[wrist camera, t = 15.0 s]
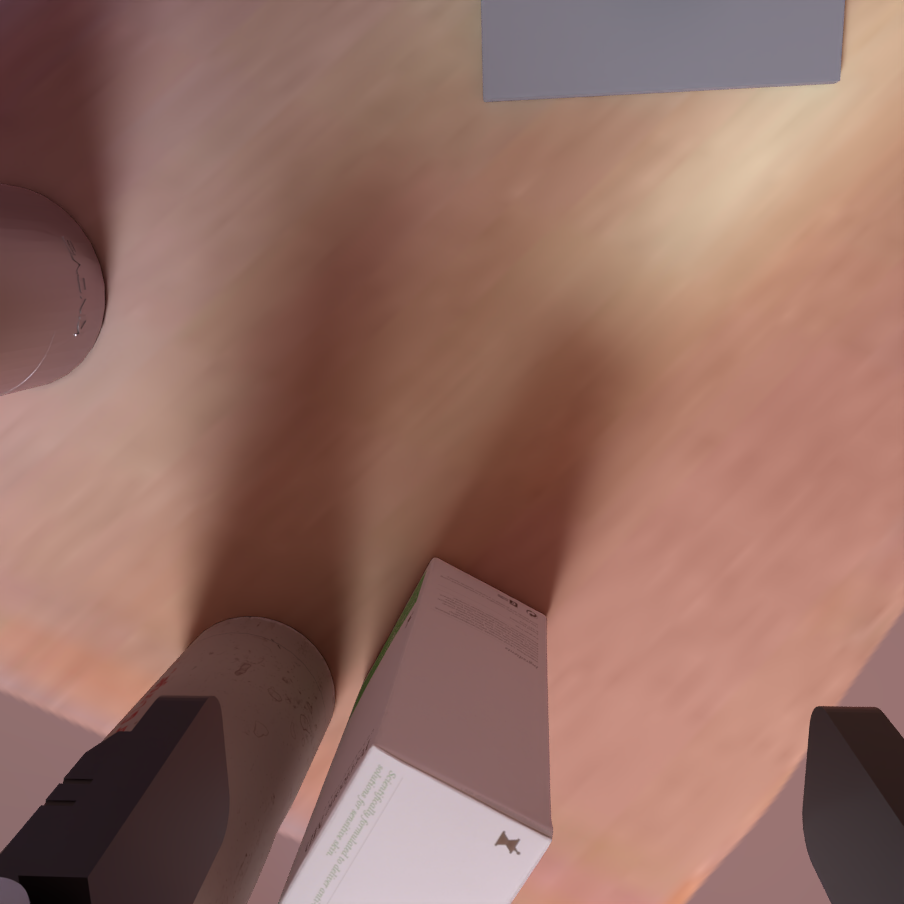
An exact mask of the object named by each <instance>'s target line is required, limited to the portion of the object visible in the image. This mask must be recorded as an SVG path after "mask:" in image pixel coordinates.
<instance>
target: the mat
mask: <svg viewBox="0 0 904 904" xmlns="http://www.w3.org/2000/svg"><path fill="white" fill-rule="evenodd" d="M844 8H845V0H481V17H482V61H483V100H484V102H493V101H512V100H531V99H550V98H569V97H588V96H607V95H626V94H645V93H664V92H683V91H702V90H721V89H740V88H759V87H778V86H797V85H816V84H834V83H837V82H838V81H840V72H841V56H842V40H843V24H844Z"/></svg>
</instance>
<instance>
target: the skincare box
mask: <svg viewBox="0 0 904 904" xmlns="http://www.w3.org/2000/svg"><path fill="white" fill-rule="evenodd" d="M552 835H553V826H552V821H551V802H550V764H549V723H548V684H547V618H546V616H545V615H544V614H542V613H540V612H538V611H536V610H534V609H532V608H531V607H529V606H527V605H525V604H523V603H521V602H520V601H518V600H516V599H514V598H512V597H510V596H508V595H506V594H505V593H503V592H501V591H499V590H497V589H495V588H493V587H492V586H490V585H488V584H486V583H484V582H482V581H480V580H478V579H476V578H474V577H473V576H471V575H469V574H467V573H465V572H463V571H461V570H459V569H457V568H456V567H454V566H452V565H450V564H448V563H446V562H444V561H442V560H440V559H439V558H433V559H432V560H431V561H430V563H429V565H428V567H427V569H426V570H425V572H424V574H423V576H422V578H421V579H420V581H419V583H418V585H417V587H416V588H415V590H414V592H413V594H412V595H411V597H410V599H409V601H408V603H407V605H406V606H405V608H404V610H403V612H402V614H401V615H400V617H399V619H398V621H397V623H396V625H395V627H394V628H393V630H392V632H391V634H390V636H389V638H388V639H387V641H386V643H385V645H384V647H383V649H382V650H381V652H380V654H379V656H378V658H377V659H376V661H375V663H374V665H373V666H372V668H371V670H370V672H369V673H368V675H367V677H366V679H365V680H364V682H363V684H362V687H361V689H360V692H359V694H358V696H357V699H356V702H355V704H354V707H353V710H352V712H351V715H350V717H349V720H348V722H347V725H346V728H345V730H344V733H343V735H342V738H341V741H340V743H339V746H338V748H337V751H336V753H335V756H334V758H333V761H332V764H331V766H330V769H329V771H328V774H327V777H326V779H325V782H324V784H323V787H322V790H321V792H320V795H319V798H318V800H317V803H316V806H315V808H314V811H313V813H312V816H311V818H310V821H309V824H308V826H307V829H306V832H305V834H304V837H303V839H302V842H301V845H300V847H299V850H298V852H297V855H296V858H295V860H294V863H293V865H292V868H291V871H290V873H289V876H288V879H287V881H286V884H285V887H284V889H283V892H282V894H281V897H280V900H279V902H278V904H511V902H512V901H513V899H514V898H515V896H516V895H517V894H518V892H519V891H520V889H521V888H522V886H523V885H524V883H525V882H526V880H527V879H528V877H529V876H530V874H531V872H532V871H533V869H534V868H535V867H536V865H537V864H538V862H539V861H540V859H541V858H542V856H543V854H544V853H545V851H546V850H547V848H548V847H549V845H550V843H551V842H552Z"/></svg>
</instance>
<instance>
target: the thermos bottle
mask: <svg viewBox="0 0 904 904" xmlns="http://www.w3.org/2000/svg"><path fill="white" fill-rule="evenodd" d="M162 695H190V696H215V697H216V698H217V699H218V701H219V703H220V706H221V711H222V720H223V731H224V741H225V752H226V762H227V773H228V783H229V795H230V807H229V817H228V824H227V829H226V833H225V836H224V839H223V842H222V845H221V847H220V849H219V851H218V853H217V855H216V857H215V859H214V861H213V863H212V866H211V868H210V870H209V872H208V874H207V876H206V878H205V880H204V882H203V884H202V886H201V888H200V890H199V892H198V894H197V897H196V899H195V901H194V903H193V904H247V902H248V900H249V898H250V896H251V894H252V891H253V889H254V887H255V885H256V883H257V880H258V878H259V876H260V873H261V871H262V868H263V866H264V864H265V861H266V859H267V857H268V854H269V852H270V849H271V847H272V844H273V841H274V839H275V836H276V833H277V831H278V829H279V827H280V825H281V824H282V822H283V820H284V818H285V816H286V815H287V813H288V811H289V809H290V808H291V806H292V804H293V802H294V800H295V798H296V795H297V793H298V791H299V789H300V787H301V785H302V782H303V780H304V778H305V776H306V774H307V771H308V769H309V767H310V765H311V763H312V761H313V758H314V756H315V754H316V752H317V750H318V747H319V745H320V743H321V741H322V739H323V737H324V734H325V732H326V730H327V728H328V725H329V723H330V720H331V718H332V715H333V709H334V704H335V694H334V684H333V680H332V676H331V673H330V670H329V668H328V666H327V664H326V662H325V660H324V658H323V657H322V655H321V654H320V653H319V651H318V650H317V648H316V647H315V646H314V645H313V644H312V643H311V642H310V641H309V640H308V639H307V638H306V637H305V636H304V635H302V634H301V633H299V632H297V631H296V630H294V629H293V628H291V627H290V626H287V625H285V624H283V623H280V622H278V621H275V620H271V619H267V618H262V617H238V618H232V619H228V620H225V621H222V622H220V623H217V624H215V625H213V626H212V627H210V628H208V629H207V630H205V631H204V632H203V633H202V634H201V635H200V636H199V637H198V638H197V639H196V640H194V641H193V642H192V644H191V645H190V646H189V647H188V648H187V649H186V650H185V651H184V652H183V653H182V654H181V656H180V657H179V658H178V659H177V660H176V661H175V662H174V663H173V664H172V665H171V666H170V668H169V669H168V670H167V671H166V672H165V673H164V674H163V675H162V676H161V677H160V679H159V680H158V681H157V682H156V683H155V684H154V685H153V686H152V687H151V688H150V689H149V691H148V692H147V693H146V694H145V695H144V696H143V697H142V698H141V699H140V700H139V702H138V703H137V704H136V705H135V706H134V707H133V708H132V709H131V710H130V711H129V712H128V714H127V715H126V716H125V717H124V718H123V719H122V720H121V721H120V722H119V723H118V724H117V726H116V727H115V728H114V729H113V730H112V731H111V732H110V733H109V734H108V736H107V737H106V738H105V739H104V740H106V739H107V738H109V737H110V736H112V735H113V734H115V733H116V732H118V731H132V729H133V728H134V727H135V726H136V724H137V723H138V722H139V720H140V719H141V718H142V717H143V715H144V714H145V713H146V712H147V710H148V709H149V708H150V706H151V705H152V704H153V703H154V701H155V700H156V699H157V698H158V697H159V696H162ZM104 740H103V741H104ZM103 741H102V742H103ZM44 806H45V804H44ZM5 848H6V847H5ZM5 848H4V849H5ZM4 849H3V850H4ZM3 850H2V851H3ZM2 851H1V852H2ZM0 854H1V853H0Z"/></svg>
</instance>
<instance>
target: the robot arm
mask: <svg viewBox="0 0 904 904" xmlns="http://www.w3.org/2000/svg"><path fill="white" fill-rule="evenodd" d="M104 310H105V285H104V281H103V276H102V272H101V267H100V263H99V261H98V259H97V256H96V254H95V252H94V249H93V247H92V245H91V243H90V241H89V240H88V238H87V237H86V235H85V234H84V232H83V231H82V229H81V228H80V226H79V225H78V224H77V223H76V222H75V221H74V220H73V219H72V218H71V217H70V216H69V215H68V213H67V212H66V211H65V210H64V209H63V208H61V207H60V206H58V205H57V204H55V203H54V202H52V201H51V200H49V199H48V198H46V197H45V196H43V195H41V194H38V193H36V192H33V191H31V190H28V189H26V188H23V187H17V186H11V185H5V184H0V396H2V395H6V394H10V393H14V392H18V391H22V390H26V389H30V388H33V387H37V386H41V385H45V384H49V383H52V382H54V381H56V380H58V379H60V378H62V377H63V376H65V375H67V374H69V373H70V372H71V371H72V370H73V369H74V368H76V367H77V366H78V365H79V364H80V363H81V362H82V361H83V360H84V358H85V357H86V356H87V354H88V353H89V352H90V350H91V349H92V347H93V346H94V343H95V341H96V339H97V336H98V334H99V332H100V329H101V326H102V320H103V315H104ZM804 787H805V788H804V798H803V812H802V815H803V830H804V837H805V842H806V847H807V851H808V854H809V857H810V860H811V862H812V865H813V867H814V869H815V871H816V873H817V875H818V877H819V879H820V881H821V883H822V885H823V887H824V889H825V891H826V893H827V896H828V898H829V900H830V902H831V903H832V904H904V738H903V737H902V736H901V735H900V733H899V732H898V731H897V729H896V728H895V727H894V726H893V724H892V723H891V722H890V721H889V719H888V718H887V717H886V716H885V715H884V713H883V712H882V711H881V710H880V709H878V708H876V707H834V706H818V707H816V708H815V709H814V710H813V712H812V715H811V719H810V726H809V738H808V750H807V762H806V774H805V786H804ZM229 807H230V795H229V783H228V773H227V762H226V752H225V741H224V731H223V720H222V711H221V706H220V703H219V701H218V699H217V698H216V697H215V696H190V695H162V696H159V697H158V698H157V699H156V700H155V701H154V703H153V704H152V705H151V706H150V708H149V709H148V710H147V712H146V713H145V714H144V715H143V717H142V718H141V719H140V720H139V722H138V723H137V724H136V726H135V727H134V728H133V729H132V731H118V732H116V733H115V734H113V735H112V736H110V737H109V738H107V739H106V740H104V741H103V742H101V743H100V744H98V745H97V746H95V747H93V748H92V749H90V750H89V751H87V752H86V753H85V754H84V755H83V756H82V757H81V758H80V760H79V761H78V762H77V763H76V764H75V766H74V767H73V768H72V769H71V770H70V772H69V773H68V774H67V775H66V776H65V778H64V781H63V784H59V785H58V786H57V787H56V788H55V789H54V791H53V792H52V793H51V794H50V795H49V796H48V798H47V799H46V803H45V806H44V805H43V806H42V805H41V806H40V807H39V808H38V810H37V811H36V812H35V813H34V814H33V816H32V817H31V818H30V819H29V820H28V821H27V823H26V824H25V825H24V826H23V828H22V829H21V830H20V831H19V832H18V833H17V835H16V836H15V837H14V838H13V839H12V840H11V842H10V843H9V844H8V845H7V846H6V848H5V849H4V850H3V851H2V852H1V854H0V904H193V903H194V901H195V899H196V897H197V894H198V892H199V890H200V888H201V886H202V884H203V882H204V880H205V878H206V876H207V874H208V872H209V870H210V868H211V866H212V863H213V861H214V859H215V857H216V855H217V853H218V851H219V849H220V847H221V845H222V842H223V839H224V836H225V833H226V829H227V824H228V817H229Z"/></svg>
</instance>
